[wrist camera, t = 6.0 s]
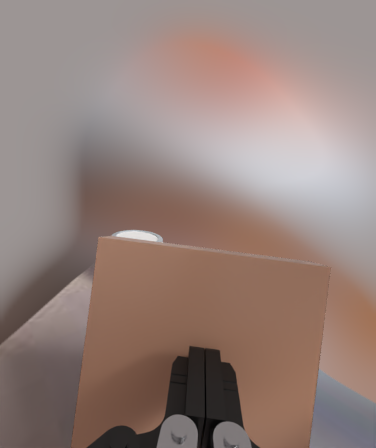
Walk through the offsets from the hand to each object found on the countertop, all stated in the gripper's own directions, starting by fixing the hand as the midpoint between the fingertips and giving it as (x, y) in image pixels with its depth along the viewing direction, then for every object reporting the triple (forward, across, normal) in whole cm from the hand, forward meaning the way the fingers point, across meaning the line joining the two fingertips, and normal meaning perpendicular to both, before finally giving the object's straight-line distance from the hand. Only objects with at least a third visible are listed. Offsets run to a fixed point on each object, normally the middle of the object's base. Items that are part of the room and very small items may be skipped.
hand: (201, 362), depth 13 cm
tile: (-1, 0, +9) cm, 9 cm away
